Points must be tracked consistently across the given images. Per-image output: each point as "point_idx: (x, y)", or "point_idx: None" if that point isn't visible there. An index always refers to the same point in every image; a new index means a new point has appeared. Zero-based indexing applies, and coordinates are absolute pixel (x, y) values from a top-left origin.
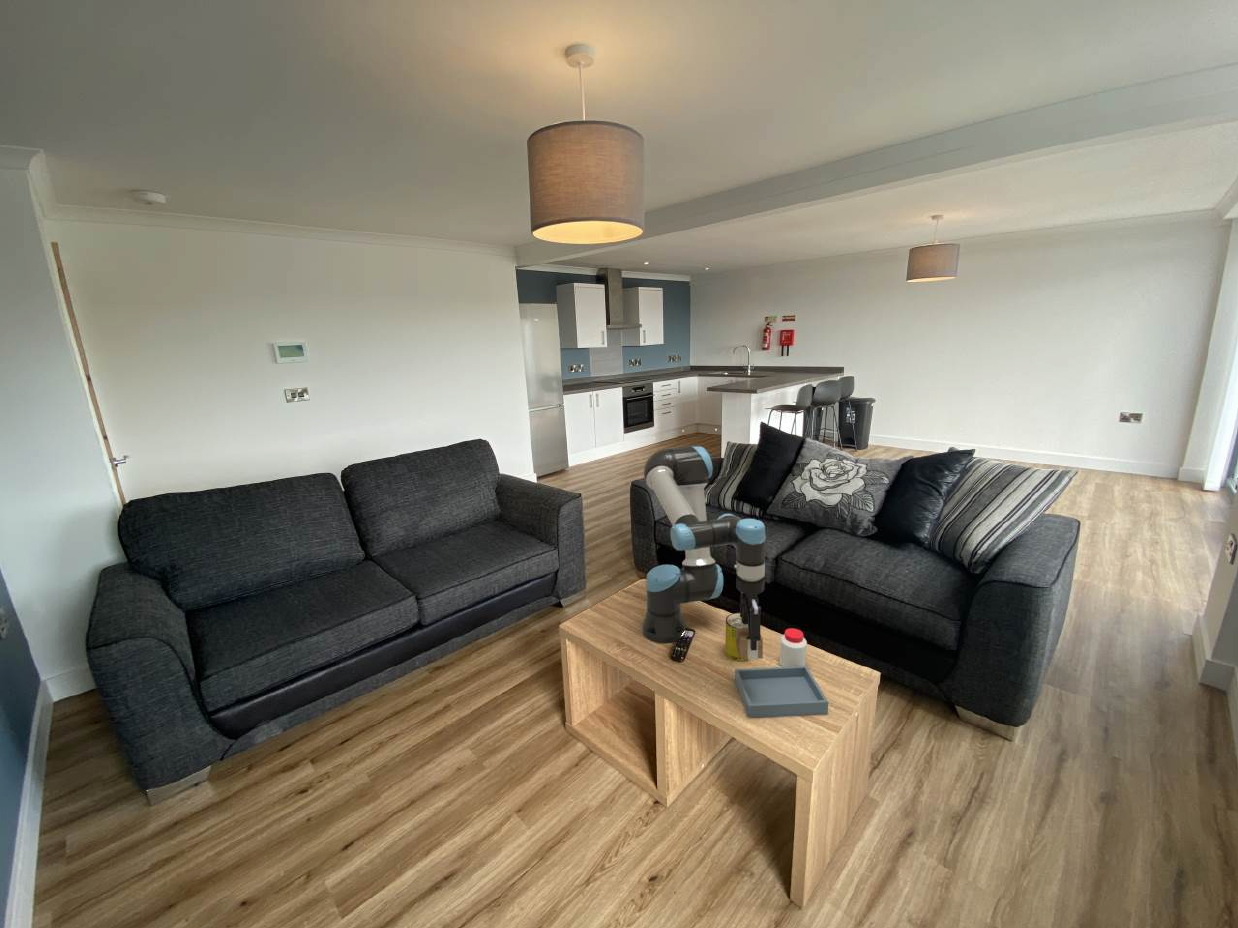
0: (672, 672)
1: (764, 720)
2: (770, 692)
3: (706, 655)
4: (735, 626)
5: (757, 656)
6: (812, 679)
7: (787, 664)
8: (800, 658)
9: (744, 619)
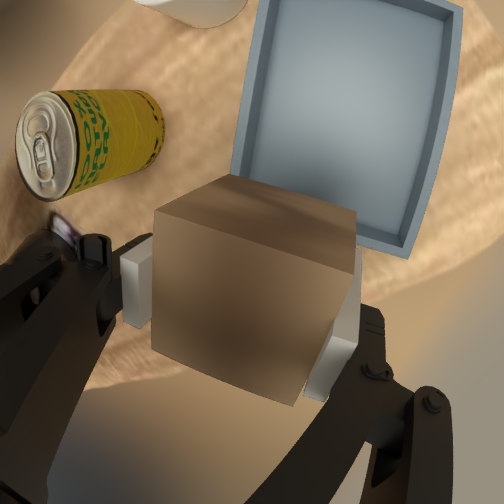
0: None
1: None
2: (333, 123)
3: (128, 225)
4: (66, 180)
5: (361, 259)
6: None
7: (225, 11)
8: None
9: (101, 337)
